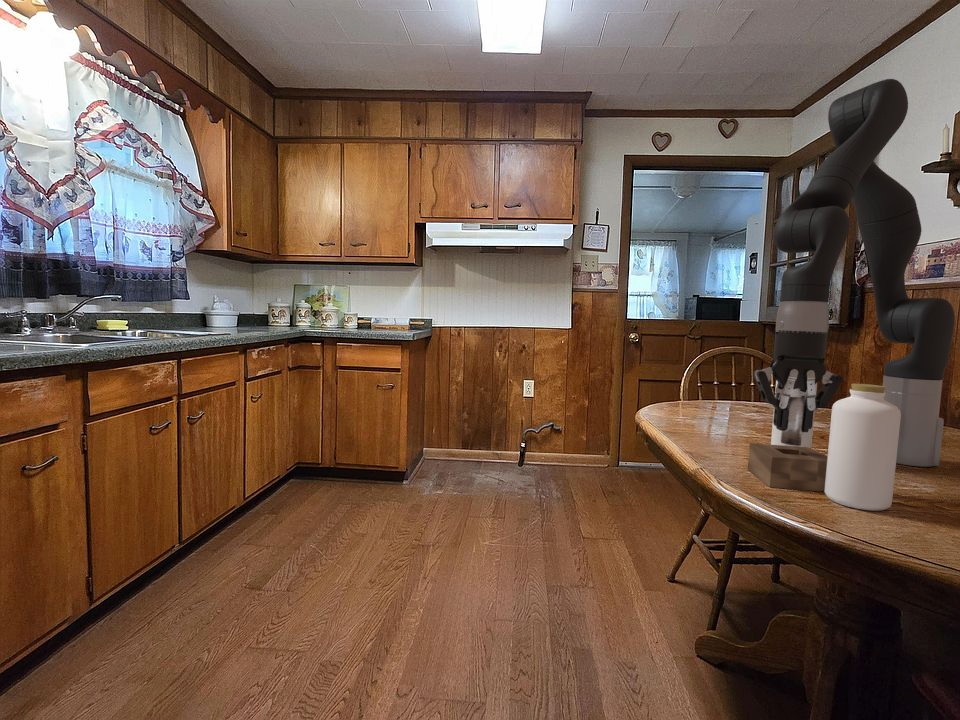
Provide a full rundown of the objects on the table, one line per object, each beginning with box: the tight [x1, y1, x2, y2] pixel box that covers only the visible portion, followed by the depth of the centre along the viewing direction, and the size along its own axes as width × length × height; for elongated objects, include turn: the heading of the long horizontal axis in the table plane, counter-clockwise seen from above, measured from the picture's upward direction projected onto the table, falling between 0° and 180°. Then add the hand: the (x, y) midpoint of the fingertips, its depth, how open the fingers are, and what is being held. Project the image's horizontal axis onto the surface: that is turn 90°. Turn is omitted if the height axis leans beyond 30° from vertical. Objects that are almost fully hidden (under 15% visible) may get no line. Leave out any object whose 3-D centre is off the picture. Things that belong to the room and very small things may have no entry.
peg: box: [781, 396, 805, 446], centre depth 89 cm, size 3×3×8 cm
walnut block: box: [747, 442, 828, 492], centre depth 89 cm, size 10×10×5 cm
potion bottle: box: [824, 383, 901, 512], centre depth 78 cm, size 8×8×18 cm
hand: (791, 430), depth 89 cm, fingers closed on peg, 3 cm apart
